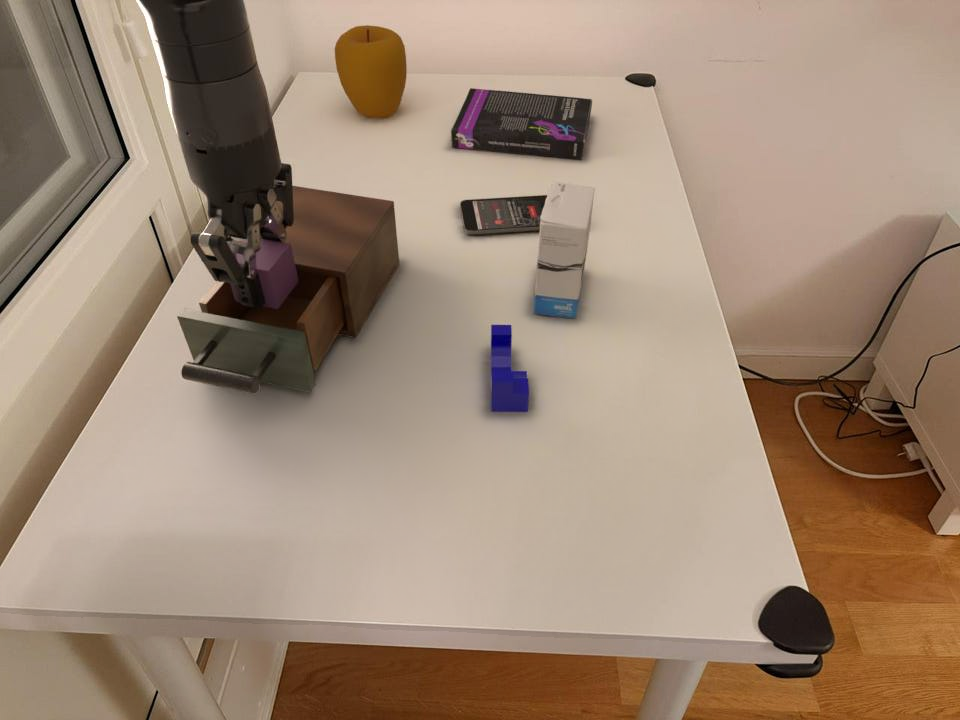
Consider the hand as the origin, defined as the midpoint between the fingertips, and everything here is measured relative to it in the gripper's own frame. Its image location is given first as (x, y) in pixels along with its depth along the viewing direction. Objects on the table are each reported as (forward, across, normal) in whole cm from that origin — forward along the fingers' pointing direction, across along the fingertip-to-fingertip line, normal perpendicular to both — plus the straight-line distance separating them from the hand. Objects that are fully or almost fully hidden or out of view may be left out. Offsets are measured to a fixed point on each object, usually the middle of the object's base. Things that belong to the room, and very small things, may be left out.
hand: (266, 288), depth 70 cm
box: (+8, -54, +13) cm, 56 cm away
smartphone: (+8, -31, +18) cm, 37 cm away
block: (0, 0, 0) cm, 0 cm away
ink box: (+8, -17, +26) cm, 32 cm away
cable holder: (+8, -2, +24) cm, 25 cm away
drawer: (+7, +2, 0) cm, 7 cm away
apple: (+8, -54, -11) cm, 56 cm away
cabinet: (+8, -10, 0) cm, 13 cm away
